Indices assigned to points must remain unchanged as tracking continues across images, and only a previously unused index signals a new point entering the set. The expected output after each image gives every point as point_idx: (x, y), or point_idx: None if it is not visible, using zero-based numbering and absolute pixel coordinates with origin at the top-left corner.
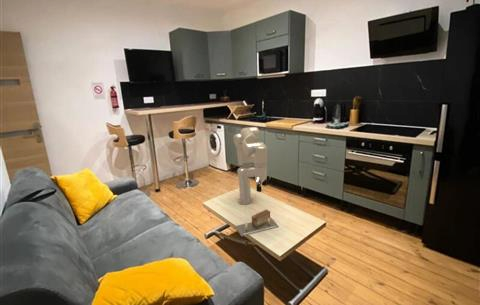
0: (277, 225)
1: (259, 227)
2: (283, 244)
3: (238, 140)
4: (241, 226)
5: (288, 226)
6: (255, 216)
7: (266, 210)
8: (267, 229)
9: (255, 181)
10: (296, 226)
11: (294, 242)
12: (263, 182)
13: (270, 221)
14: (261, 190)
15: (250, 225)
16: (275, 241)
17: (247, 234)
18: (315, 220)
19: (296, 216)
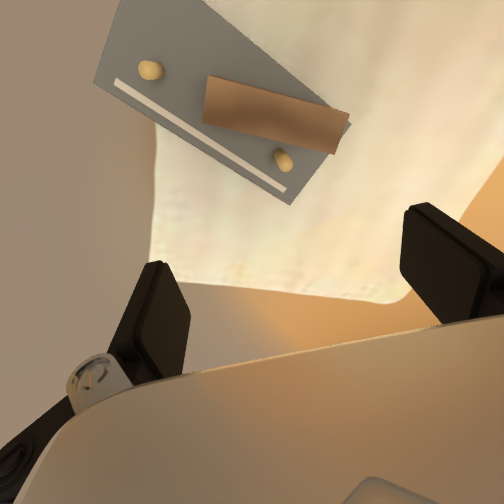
0: (296, 192)
1: None
2: (204, 261)
3: None
4: (165, 3)
5: (323, 224)
6: (223, 104)
7: (335, 126)
8: (240, 170)
9: (50, 441)
10: (338, 248)
11: (239, 283)
12: (439, 270)
13: None
14: (185, 331)
15: (213, 58)
16: (199, 232)
17: (133, 103)
18: None
19: None
